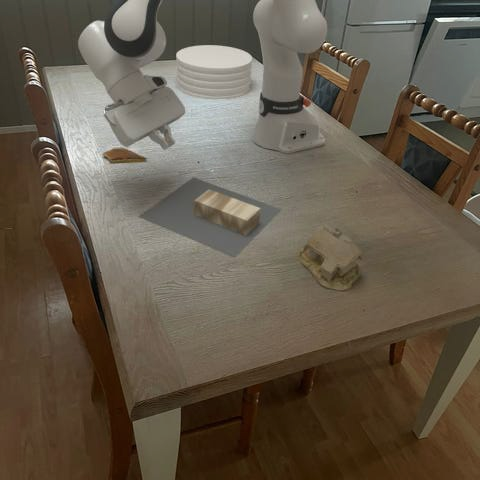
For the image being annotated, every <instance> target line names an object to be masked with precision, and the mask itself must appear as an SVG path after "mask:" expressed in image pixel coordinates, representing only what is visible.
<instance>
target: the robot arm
mask: <svg viewBox="0 0 480 480" xmlns="http://www.w3.org/2000/svg"><path fill="white" fill-rule="evenodd" d="M162 3H163V0H117V1H116V2H115V3H114V4H113V5H112V6H111V7H110V8H109V9H108V11H107V12H106V15H105V18H104V20H94V21H92V22H91V23H89V24H88V25H86V26H85V27H84V28H83V30H82V32H81V33H80V35H79V37H78V40H77V41H78V42H77V43H78V44H77V45H78V49H79V52H80V54H81V56H82V58H83V60H84V61H85V63H86V65H87V67H88V68H89V70H90V71H91V72H92V73H93V75H94V77H95V78H96V79H97V80H99V81H100V82H101V83H102V84H103V86H104V88H105V90H106V94H108V96H109V97H110V99H111V100H112V101H113V102H112V103H111V104H108V105H106V106H105V107H104V110H103V117H104V118H105V120H106V121H107V123H108V124H109V126H110V128H111V130H112V133H113V134H114V136H115V137H116V139H117V141H118V142H119V143H120V145H121V146H123V147H124V148H128V147H130V146H132V145H134V144H136V143H138V142H139V141H141V140H143V139H145V138H147V137H149V138H150V140H151V141H153V142H154V143H156V144H158V145H160V147H161V149H162V150H163V151H166V150H167V149H169V148H171V147H172V146H173V145H175V144H176V140H175V139H174V138H173V136H172V135H173V134H172V132H171V127H170V126H169V125H171V124H173V123H175V122H177V121H178V120H179V119H181V118H182V117H183V116H184V115H185V114H186V108H185V106H184V103H182V101H181V99H180V98H179V96H178V95H177V94H176V93H175V91H174V90H173V89H172V88H170V87H169V86H167V84H168V81H167V80H166V78H165V77H163V76H162V75H161V76H158V75H157V76H156V75H148V74H144V73H143V72H142V71H141V70H140V69H141V68H142V67H144V66H147V65H148V64H151V63H152V62H154V61H156V60H157V59H159V58H160V57H161V56H162V55H163V54H164V52H165V50H166V47H167V36H166V32H165V30H164V28H163V27H162V25H161V24H160V23H159V21H157V17H158V11H159V8H160V6H161V4H162ZM253 9H254V10H253V13H252V15H253V16H252V18H253V19H252V20H253V26H255V29H256V31H257V33H258V38H259V42H260V43H259V44H260V48H261V53H262V65H263V73H262V85H261V86H262V87H261V92H260V95H259V101H258V102H259V103H258V113H259V114H258V119H257V122H256V126H255V129H254V132H253V135H252V140H253V142H254V143H255V144H256V145H258V146H260V147H262V148H265V149H268V150H274V151H278V152H281V153H284V154H291V153H296V152H299V151H300V152H301V151H304V150H308V149H312V148H316V147H321V146H324V145H325V143H326V139H325V136H324V134H322V132H320V125H319V124H320V123H319V121H318V120H317V119H316V117H314V115H313V114H311V113H310V111H308V110H307V109H306V108H308V107H310V106H311V105H312V102H311V100H310V99H308V98H305V97H304V96H303V95H301V87H302V80H303V74H304V73H303V72H304V71H303V70H304V69H303V66H302V63H301V61H300V59H299V56H298V53H303V54H312V53H314V52H316V51H318V50H319V49H320V48H321V47H322V45H323V44H324V42H325V40H326V38H327V34H328V22H327V20H326V18H325V17H324V16H323V13H322V12H321V10H320V9H319V6H318V3H317V1H316V0H259V1H258V2H257V3H256V5H255V8H253ZM160 134H162V135H163V136H161V135H160Z"/></svg>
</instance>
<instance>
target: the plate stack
mask: <svg viewBox="0 0 480 480" xmlns="http://www.w3.org/2000/svg"><path fill="white" fill-rule="evenodd" d="M175 56H176V57H175V58H176V59H175V60H176V87H177V89H178V90H179V91H180V92H181V93H182V94H184V95H186V96H189V97H193V98H196V99H201V98H202V100H209V99H214V100H213V101H219V100H218V99H226V100H232V99H231V98H234V99H237V98H236V97H238V98H241V97H243V95H244V96H246V95H247V94H248V93H249V92H250V91H251V81H252V80H251V77H252V63H253V56H252V55H251V54H250V53H249V52H247V51H245V50H242V49H239V48H236V47H231V46H224V45H217V44H215V45H213V44H210V45H208V44H205V45H203V44H202V45H193V46H187V47H185V48H182V49H179V50H178V51H177V52H176V54H175ZM249 90H250V91H249ZM240 96H241V97H240ZM215 99H217V100H215Z"/></svg>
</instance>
